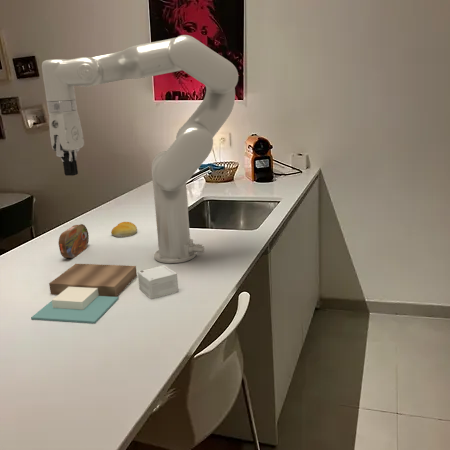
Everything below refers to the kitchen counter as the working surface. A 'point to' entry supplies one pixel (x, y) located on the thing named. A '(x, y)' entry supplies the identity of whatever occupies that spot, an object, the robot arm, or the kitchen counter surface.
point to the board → (95, 278)
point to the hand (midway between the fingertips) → (71, 174)
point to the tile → (75, 298)
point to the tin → (73, 241)
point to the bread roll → (124, 229)
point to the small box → (158, 281)
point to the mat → (77, 311)
